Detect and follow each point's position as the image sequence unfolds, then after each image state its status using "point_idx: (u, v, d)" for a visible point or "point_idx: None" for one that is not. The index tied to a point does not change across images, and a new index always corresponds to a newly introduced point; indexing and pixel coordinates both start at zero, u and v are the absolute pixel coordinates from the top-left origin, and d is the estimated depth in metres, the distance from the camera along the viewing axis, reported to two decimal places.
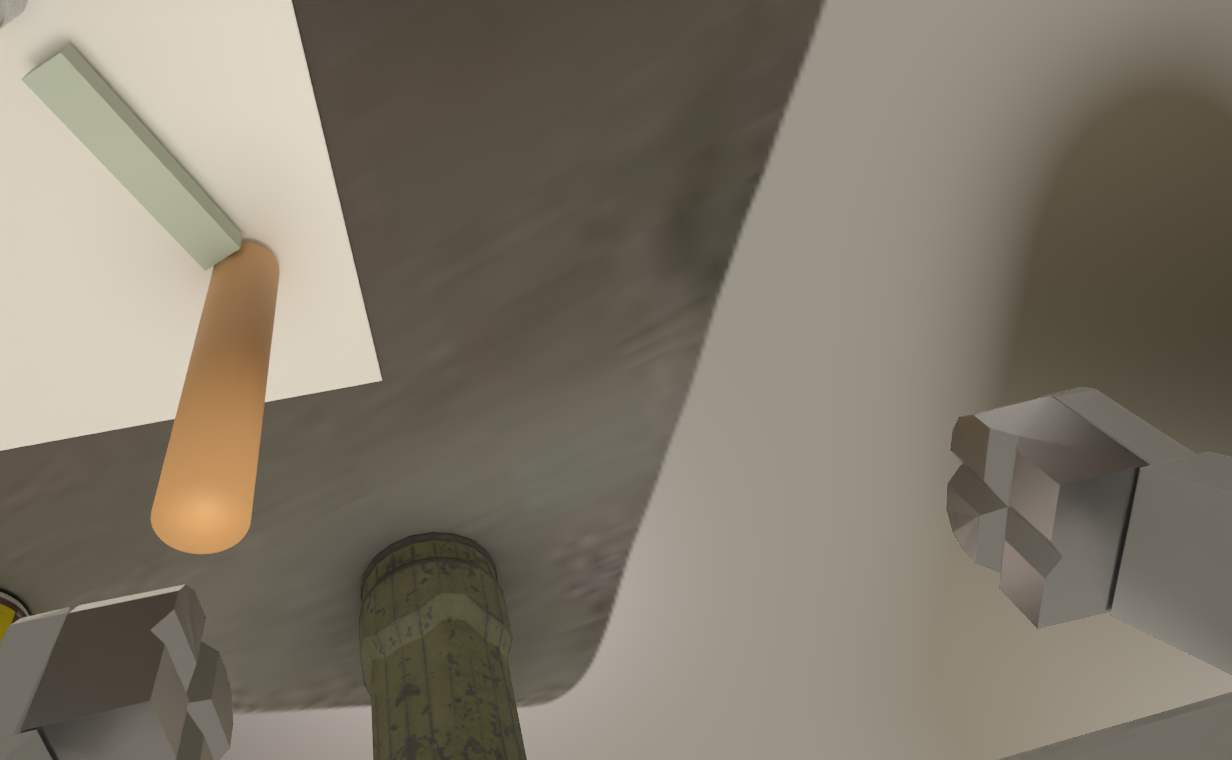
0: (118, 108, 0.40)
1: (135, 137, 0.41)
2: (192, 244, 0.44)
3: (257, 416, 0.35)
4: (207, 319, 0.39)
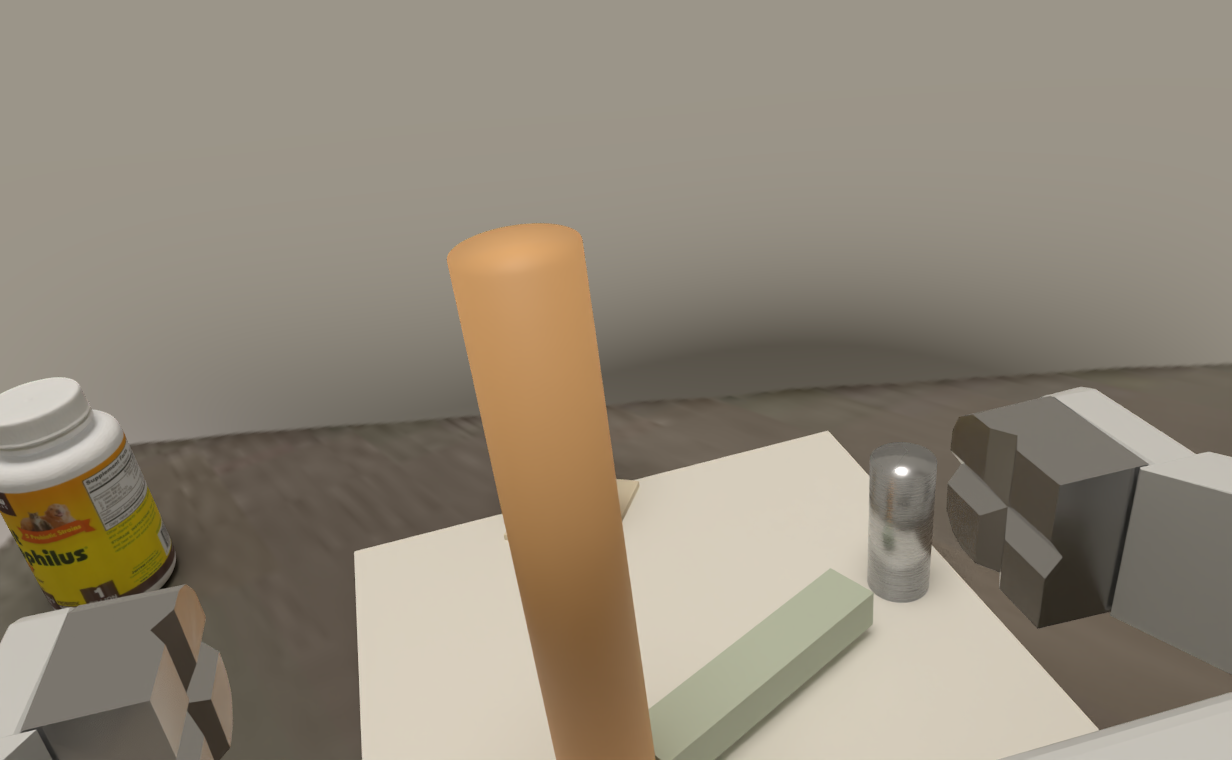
0: (822, 646, 0.34)
1: (798, 652, 0.33)
2: (663, 711, 0.31)
3: (572, 473, 0.22)
4: None
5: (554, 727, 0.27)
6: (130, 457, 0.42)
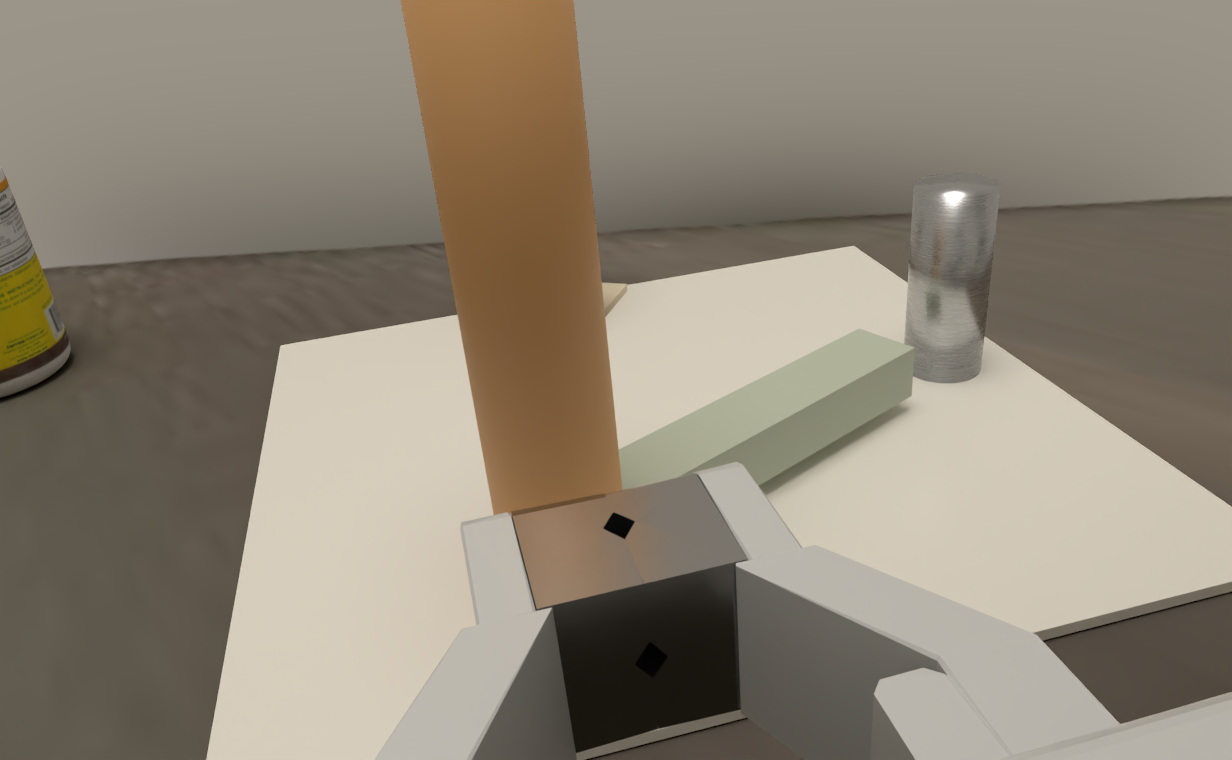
0: (848, 401, 0.26)
1: (817, 398, 0.25)
2: (638, 451, 0.24)
3: None
4: None
5: (480, 404, 0.19)
6: (11, 207, 0.34)
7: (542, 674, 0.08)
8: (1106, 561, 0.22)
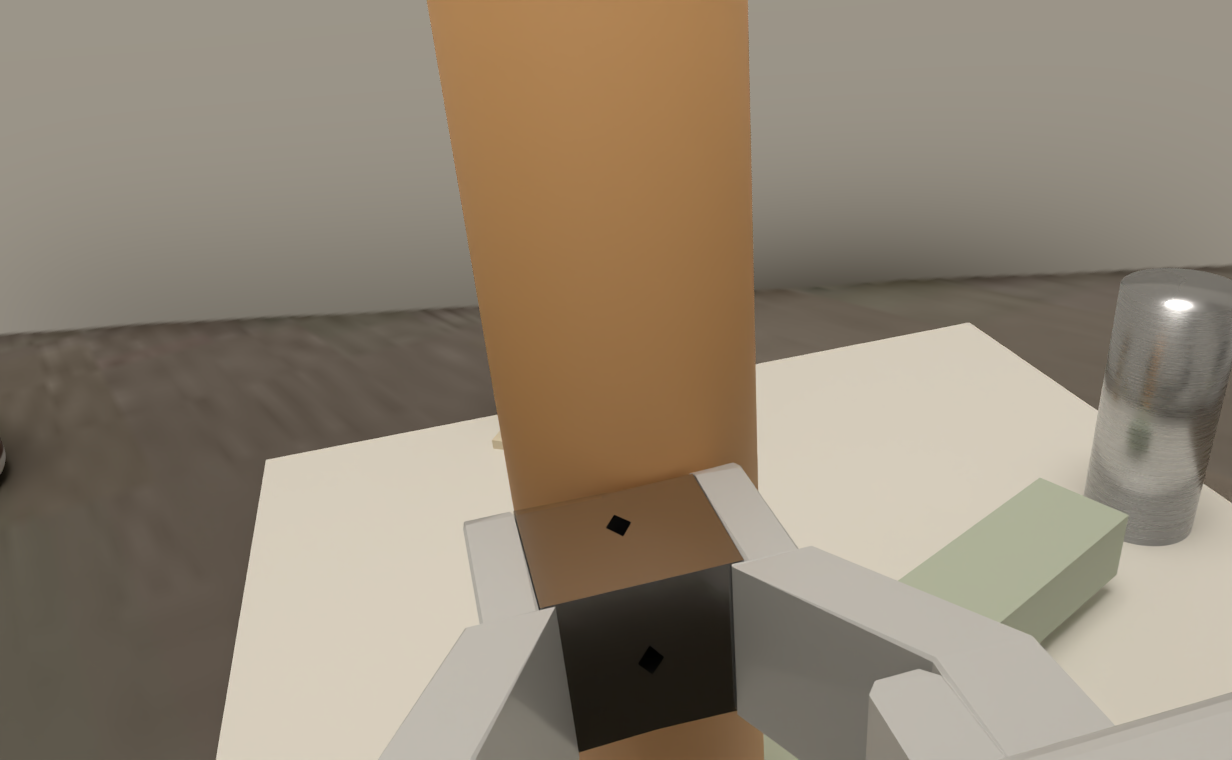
0: (1049, 601, 0.19)
1: (1014, 606, 0.18)
2: None
3: None
4: None
5: None
6: None
7: (546, 673, 0.08)
8: None
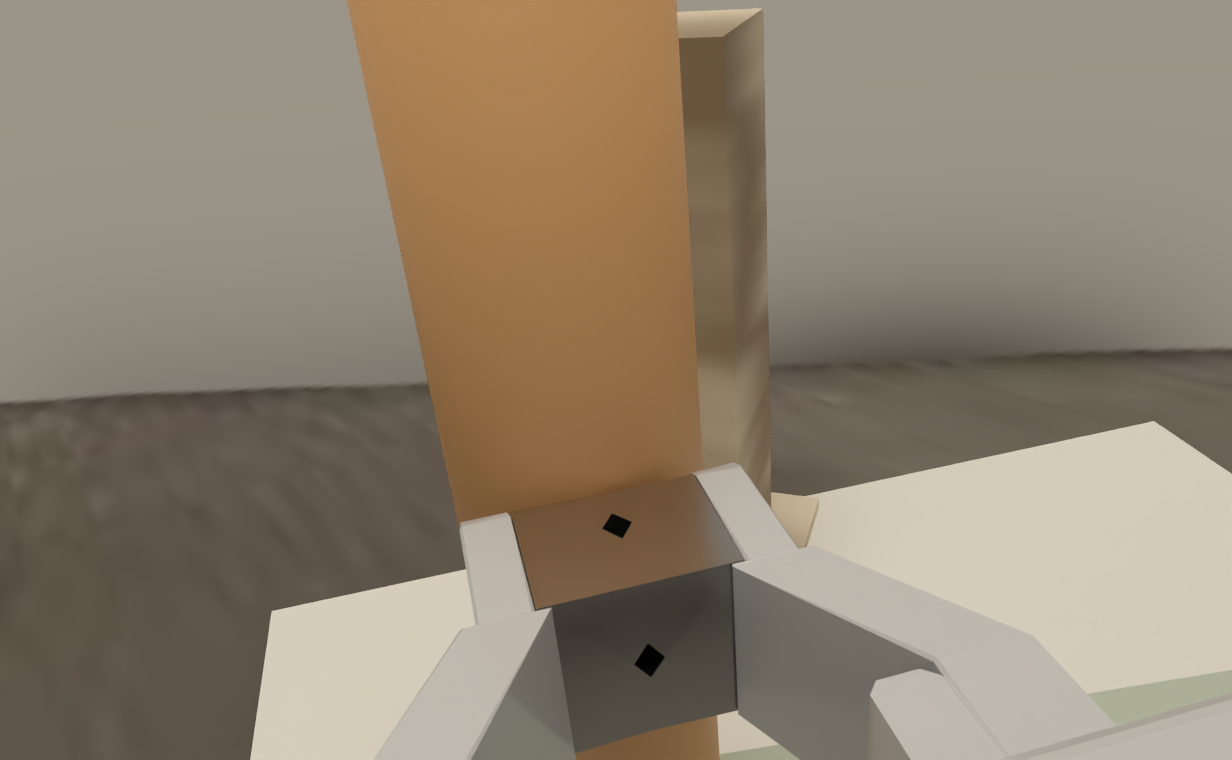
0: None
1: None
2: None
3: None
4: None
5: None
6: None
7: (541, 674, 0.08)
8: None
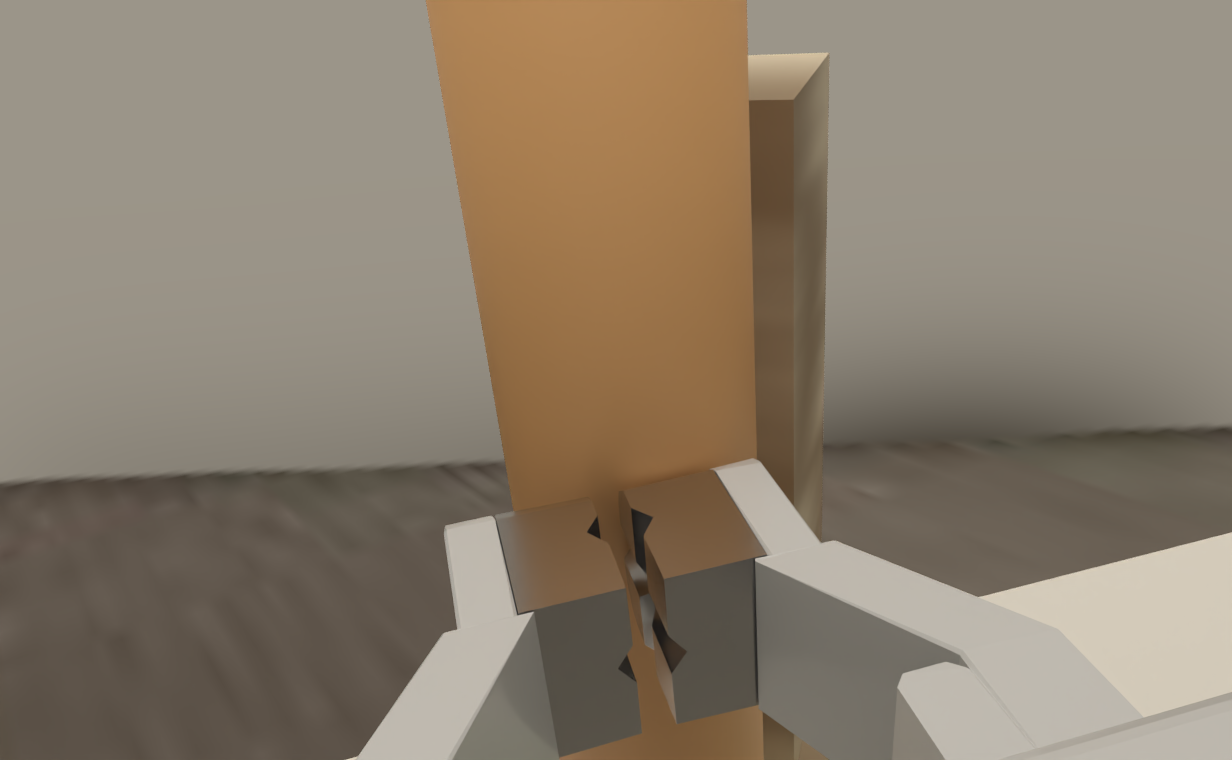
0: None
1: None
2: None
3: None
4: None
5: None
6: None
7: (523, 678, 0.08)
8: None
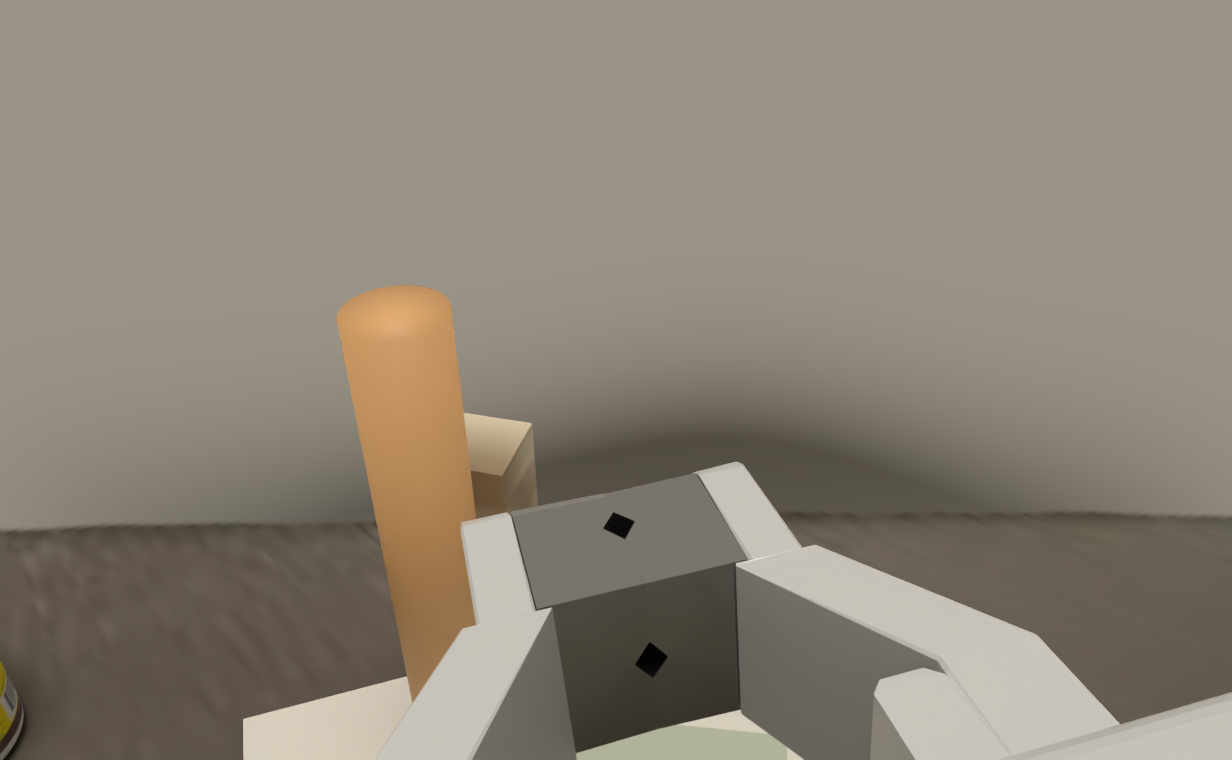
0: None
1: None
2: None
3: (389, 494, 0.27)
4: None
5: None
6: None
7: (542, 674, 0.08)
8: None
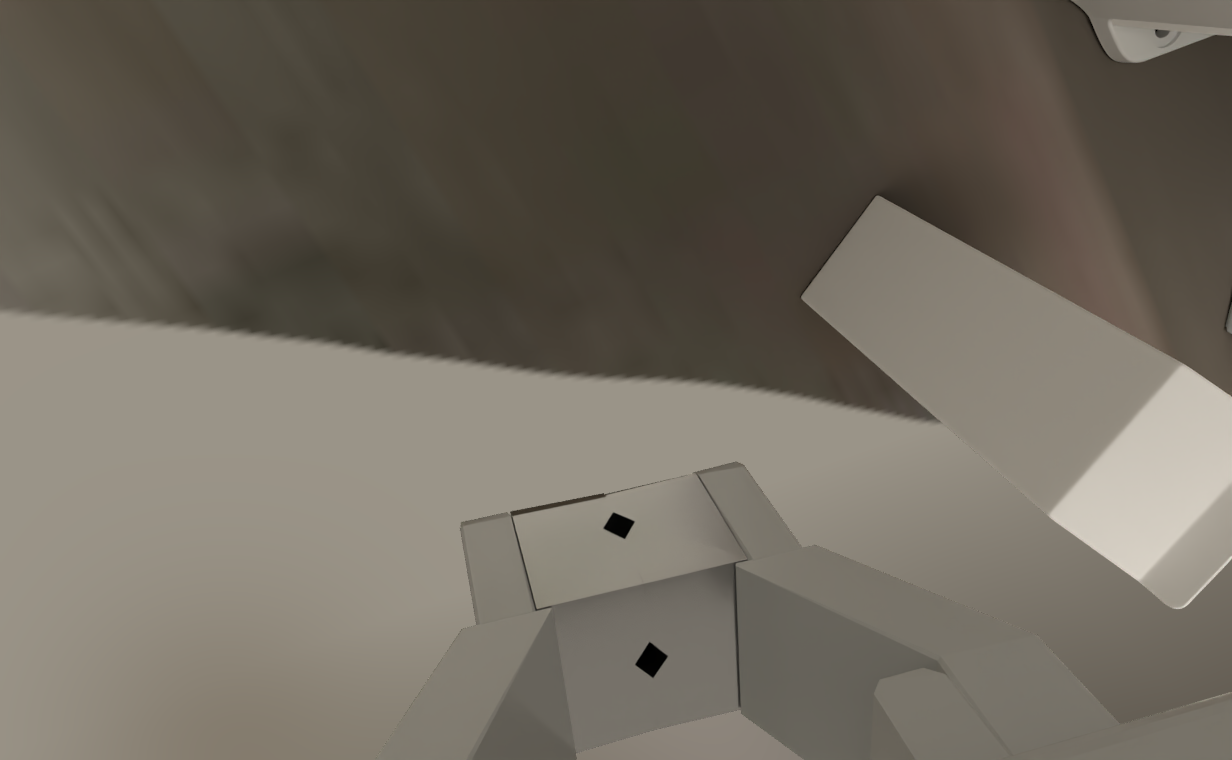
0: None
1: None
2: None
3: None
4: None
5: None
6: None
7: (542, 674, 0.08)
8: None
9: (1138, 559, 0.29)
